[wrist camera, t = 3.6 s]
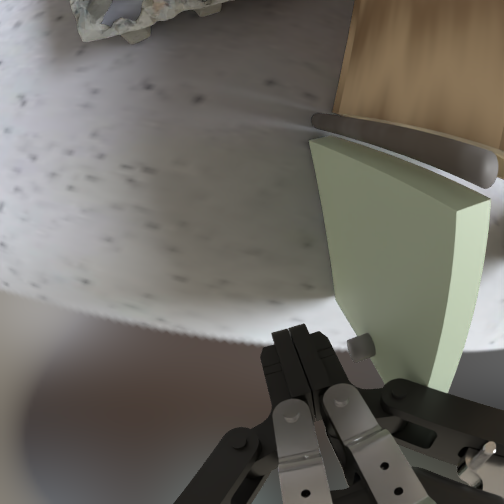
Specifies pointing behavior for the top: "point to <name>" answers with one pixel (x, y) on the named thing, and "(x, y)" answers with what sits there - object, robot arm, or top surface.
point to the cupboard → (426, 84)
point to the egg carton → (153, 9)
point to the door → (401, 258)
